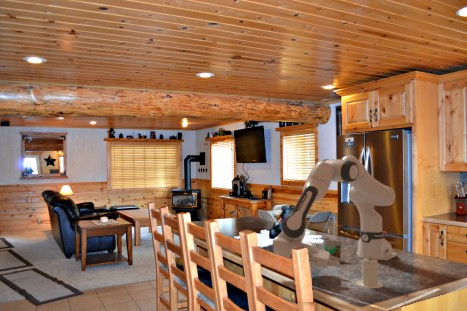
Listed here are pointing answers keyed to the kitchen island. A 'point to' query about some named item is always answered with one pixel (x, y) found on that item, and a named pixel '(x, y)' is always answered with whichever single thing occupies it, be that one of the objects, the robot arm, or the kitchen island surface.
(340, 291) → the kitchen island surface
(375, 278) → the lidded octagonal canister
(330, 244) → the food container
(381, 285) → the saucer
